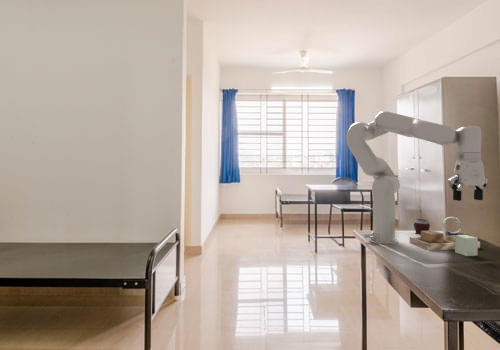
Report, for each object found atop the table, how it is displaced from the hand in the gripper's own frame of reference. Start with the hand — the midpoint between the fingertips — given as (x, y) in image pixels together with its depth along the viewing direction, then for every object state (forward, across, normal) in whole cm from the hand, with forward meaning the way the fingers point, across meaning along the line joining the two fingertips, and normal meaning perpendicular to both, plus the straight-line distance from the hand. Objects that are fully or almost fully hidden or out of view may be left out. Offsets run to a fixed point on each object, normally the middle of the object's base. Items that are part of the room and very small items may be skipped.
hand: (467, 200), depth 112 cm
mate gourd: (+23, +7, +33) cm, 41 cm away
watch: (+23, +16, +23) cm, 36 cm away
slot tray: (+22, 0, +11) cm, 25 cm away
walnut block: (+22, -6, +12) cm, 25 cm away
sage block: (+23, -1, -1) cm, 23 cm away
